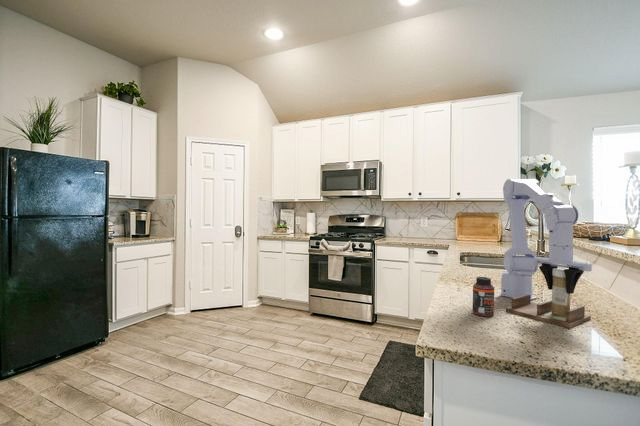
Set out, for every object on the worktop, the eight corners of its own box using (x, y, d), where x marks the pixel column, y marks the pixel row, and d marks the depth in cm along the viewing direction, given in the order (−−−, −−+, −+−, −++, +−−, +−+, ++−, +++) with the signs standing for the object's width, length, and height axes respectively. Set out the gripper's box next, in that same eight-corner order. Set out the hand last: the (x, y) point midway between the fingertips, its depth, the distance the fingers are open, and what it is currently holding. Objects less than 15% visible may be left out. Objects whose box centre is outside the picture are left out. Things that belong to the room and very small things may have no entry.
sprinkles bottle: (573, 315, 92) (575, 270, 91) (565, 317, 90) (566, 271, 89) (556, 310, 96) (557, 267, 95) (547, 312, 94) (549, 268, 93)
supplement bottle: (486, 318, 92) (486, 280, 92) (468, 312, 98) (468, 277, 98) (498, 315, 95) (498, 278, 95) (480, 310, 100) (480, 275, 100)
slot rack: (505, 311, 99) (505, 298, 99) (528, 304, 106) (528, 292, 106) (569, 328, 85) (569, 313, 85) (590, 319, 92) (590, 305, 92)
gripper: (598, 247, 87) (597, 295, 87) (543, 242, 101) (543, 284, 101) (583, 248, 84) (583, 298, 84) (529, 243, 98) (529, 286, 98)
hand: (560, 291), depth 92 cm, fingers closed on sprinkles bottle, 4 cm apart
